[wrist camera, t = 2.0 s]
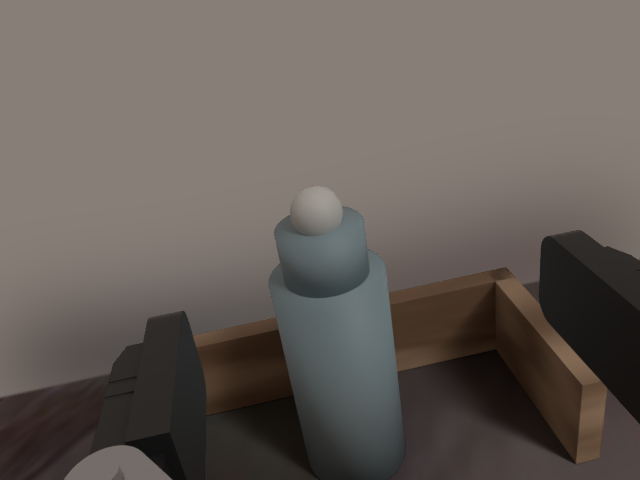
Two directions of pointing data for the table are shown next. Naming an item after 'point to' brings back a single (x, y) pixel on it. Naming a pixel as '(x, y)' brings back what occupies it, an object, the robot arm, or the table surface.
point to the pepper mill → (338, 340)
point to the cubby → (434, 353)
